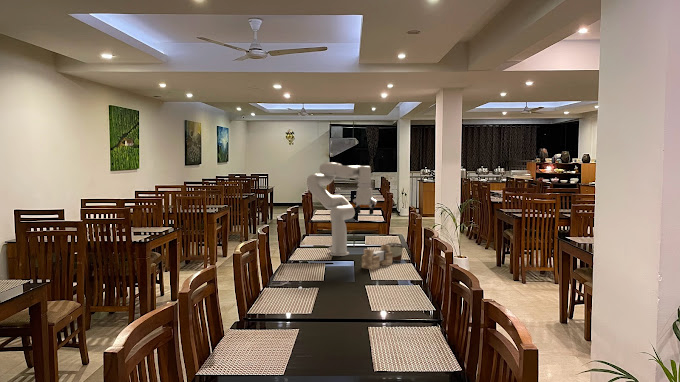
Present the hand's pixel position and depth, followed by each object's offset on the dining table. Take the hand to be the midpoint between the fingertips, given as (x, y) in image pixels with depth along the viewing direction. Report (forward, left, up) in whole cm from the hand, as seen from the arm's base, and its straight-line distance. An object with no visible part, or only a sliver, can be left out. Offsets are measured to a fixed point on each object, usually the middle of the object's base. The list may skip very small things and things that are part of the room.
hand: (364, 213), depth 310 cm
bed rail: (+16, -10, -25) cm, 32 cm away
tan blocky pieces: (+16, -10, -28) cm, 34 cm away
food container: (+15, +9, -28) cm, 33 cm away
